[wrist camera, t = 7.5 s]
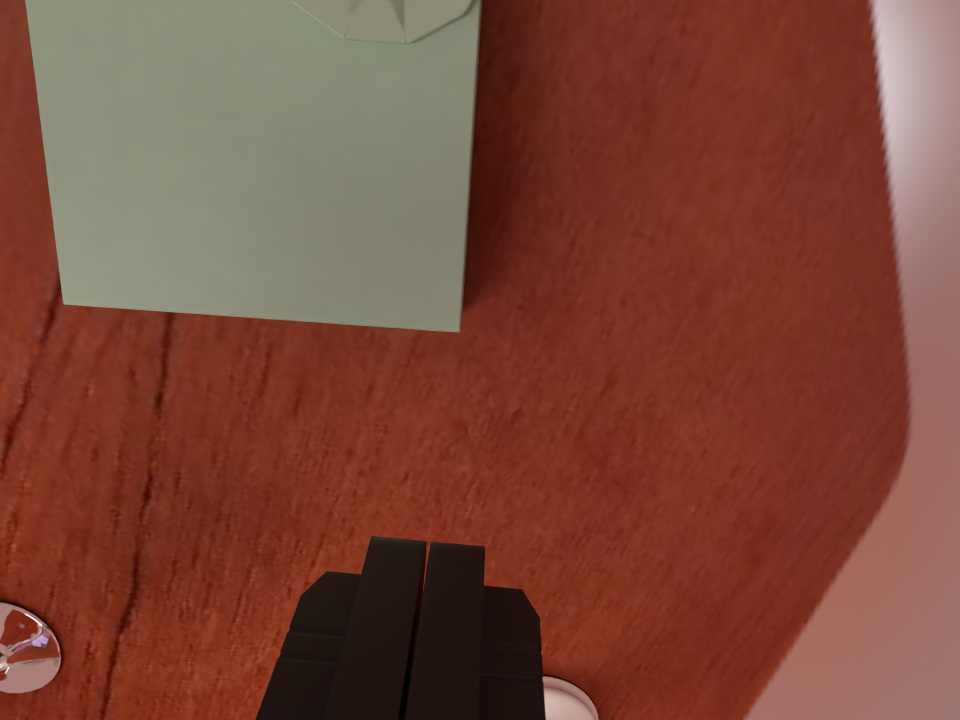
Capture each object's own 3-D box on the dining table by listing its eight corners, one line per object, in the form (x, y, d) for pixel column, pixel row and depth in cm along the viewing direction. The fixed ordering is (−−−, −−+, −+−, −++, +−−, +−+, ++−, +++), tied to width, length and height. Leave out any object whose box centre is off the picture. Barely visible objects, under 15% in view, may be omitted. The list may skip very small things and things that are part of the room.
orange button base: (512, -195, 21) (514, -237, 18) (476, 314, 26) (473, 353, 23) (34, -230, 21) (-50, -279, 18) (91, 287, 26) (35, 321, 23)
